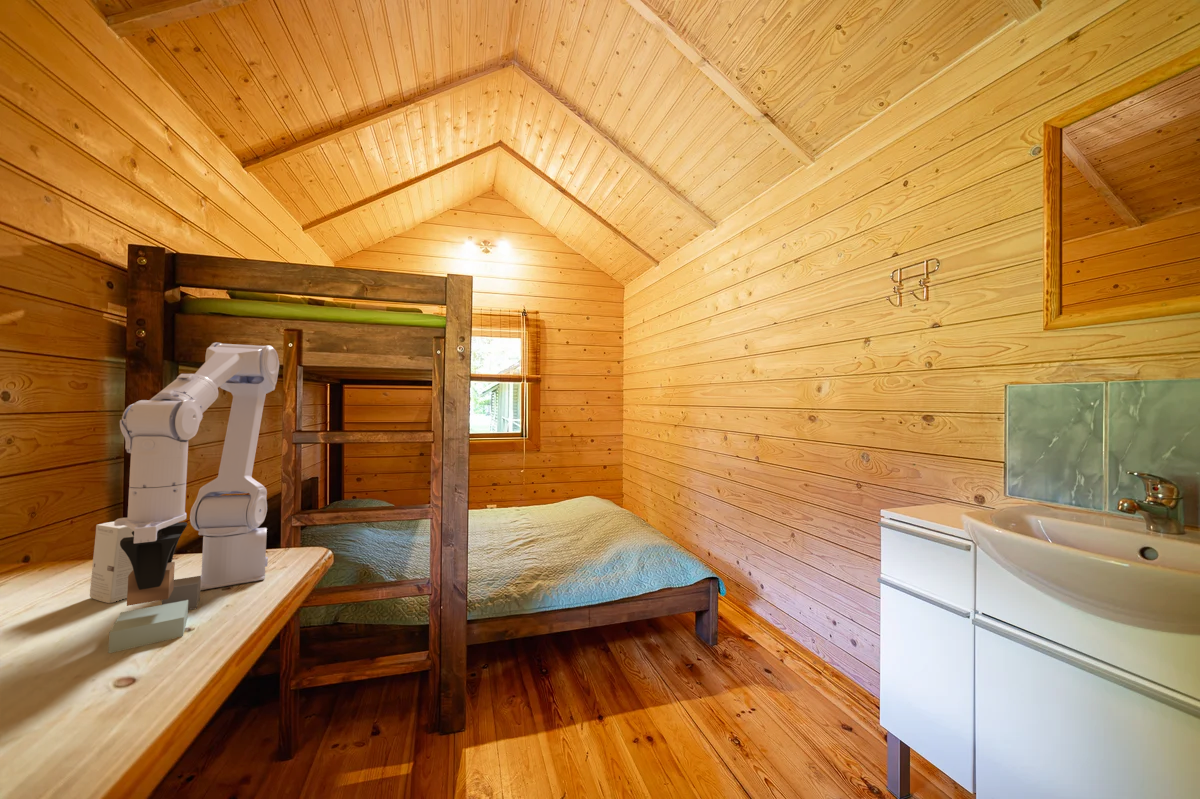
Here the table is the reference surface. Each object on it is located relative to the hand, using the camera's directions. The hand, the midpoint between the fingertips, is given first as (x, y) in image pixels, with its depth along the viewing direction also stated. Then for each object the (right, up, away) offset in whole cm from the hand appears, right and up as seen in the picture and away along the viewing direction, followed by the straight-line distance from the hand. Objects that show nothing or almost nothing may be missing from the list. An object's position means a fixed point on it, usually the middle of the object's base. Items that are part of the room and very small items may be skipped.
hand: (153, 582), depth 62 cm
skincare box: (-18, -7, +12) cm, 22 cm away
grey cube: (-4, -8, +8) cm, 12 cm away
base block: (0, -8, 0) cm, 8 cm away
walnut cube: (0, -2, 0) cm, 2 cm away
